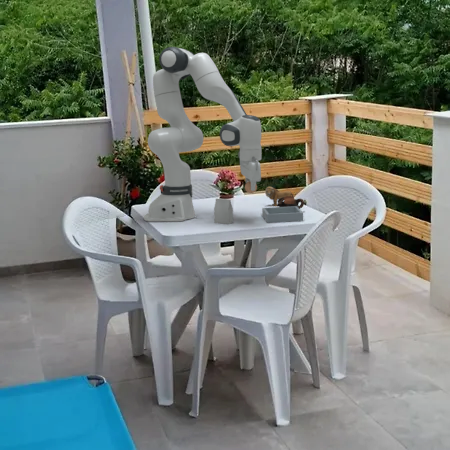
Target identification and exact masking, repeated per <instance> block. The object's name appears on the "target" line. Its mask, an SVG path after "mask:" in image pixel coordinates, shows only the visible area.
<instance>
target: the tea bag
mask: <svg viewBox="0 0 450 450" xmlns="http://www.w3.org/2000/svg"><path fill="white" fill-rule="evenodd" d="M233 209H234V208H233V205H232V202H231V199H228V198H215V202H214V207H213V214H214V215H213V218H214V224H223V225H230V224H232V223H233V224H234V210H233Z"/></svg>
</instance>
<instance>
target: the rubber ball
mask: <svg viewBox="0 0 450 450" xmlns="http://www.w3.org/2000/svg"><path fill="white" fill-rule="evenodd" d="M250 186H251V182H250V181H249V182H247V183H246V182H245V185H244V190H245V192H246V193H248V194H254V193H256V191H257V189H258V186H257V184H256V186H255V190H254V191H252V190H250Z"/></svg>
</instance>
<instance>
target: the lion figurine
mask: <svg viewBox="0 0 450 450" xmlns="http://www.w3.org/2000/svg"><path fill="white" fill-rule="evenodd" d="M265 196H266V197H267V198H269V200H272V202H273V203H272V206H273V207H277V204H278V199H280V198H283V197H286V196H293V197H294V198H295V196H294V193H293V192H291V191H290V190H285V191H280V190H278V188H277V189H276V188H274V187H272V186H267V187H266V188H265ZM295 203H296V202H295Z"/></svg>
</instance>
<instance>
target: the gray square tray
mask: <svg viewBox="0 0 450 450" xmlns="http://www.w3.org/2000/svg"><path fill="white" fill-rule="evenodd" d="M261 210H262V213H261V214H262V216H261V217H262V218H263V219H264V220H265V222H266V224H267V223H269V224H271V223H273V222H275V223H291V222H304V212H303V211H302V210H301V208H300V209H299V208H298V207H297V206H292V207H277V206H273V207H262V208H261Z"/></svg>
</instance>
